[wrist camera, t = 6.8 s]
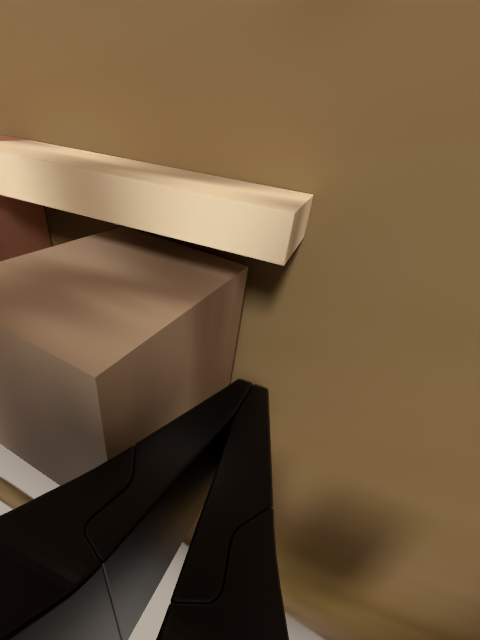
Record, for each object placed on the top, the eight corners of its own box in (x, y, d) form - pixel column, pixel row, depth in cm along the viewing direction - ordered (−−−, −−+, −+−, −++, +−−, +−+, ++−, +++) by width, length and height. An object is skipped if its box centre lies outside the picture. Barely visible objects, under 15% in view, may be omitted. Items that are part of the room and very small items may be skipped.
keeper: (248, 266, 10) (94, 378, 5) (230, 383, 13) (117, 525, 8) (123, 226, 12) (-80, 284, 7) (130, 337, 14) (-13, 434, 10)
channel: (313, 194, 9) (276, 230, 6) (259, 430, 14) (224, 519, 11) (3, 135, 12) (-143, 136, 8) (56, 352, 17) (-21, 405, 14)
